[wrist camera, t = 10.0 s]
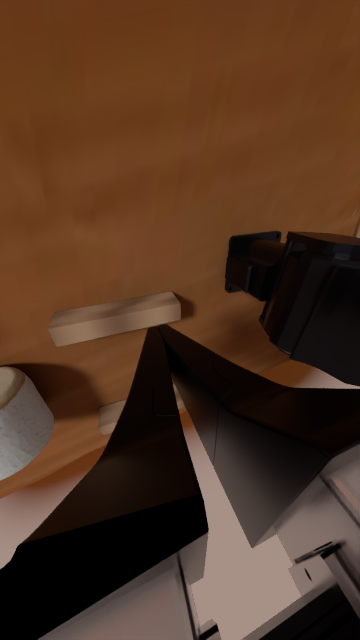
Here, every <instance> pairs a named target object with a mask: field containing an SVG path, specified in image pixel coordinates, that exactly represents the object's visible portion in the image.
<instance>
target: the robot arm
mask: <svg viewBox="0 0 360 640" xmlns="http://www.w3.org/2000/svg"><path fill="white" fill-rule="evenodd" d="M276 235H277V237H276ZM286 238H287V241H286V244H284V243H280V239H281V232H279V231H271V232H262V233H254V234H245V235H236V236H232V237H231V238H230V241H229V251H228V257H227V264H226V274H225V279H226V282H225V291H227V292H228V293H230V292H235V291H241V290H242V291H244V292H245V293H249V294H250V295H252V296H253V297H255V298H257V299H258V300H260V301H266V303H265V306H264V309H263V312H262V315H260V318H259V321H260V323H261V325H262V326H263V328H264V330H265V331H266V333H267V334H268V336H269V337H270V338H269V340H270V342H271V343H272V344H274V345H275V346H276V347H277V348H278V349H279V350H280V351H282V352H284V353H286V354H288V355H290V356H289V358H290V359H292V360H295V361H299V362H303V363H306V364H309V365H311V366H313V367H316V368H318V369H320V370H322V371H324V372H326V373H328V374H329V375H331V376H333V377H335V378H336V379H338V380H340V381H342V382H344V383H346V384H351V385H355V386H360V238H357V237H352V236H345V235H337V234H330V233H313V232H292V231H288V234H287V237H286ZM234 239H235V240H236V241H235V242H234V243H233V241H234ZM229 287H230V289H229ZM172 380H173V382H174V384H175V386H176V388H177V390H178V392H179V395H180V397H181V399H182V401H183V403H184V405H185V407H186V409H187V412H188V414H189V416H190V418H191V420H192V422H193V424H194V426H195V429H196V431H197V433H198V435H199V437H200V439H201V441H202V443H203V446H204V448H205V450H206V452H207V454H208V456H209V458H210V461H211V463H212V465H213V466H214V469H215V471H216V473H217V475H218V478H219V480H220V482H221V484H222V486H223V488H224V490H225V493H226V495H227V497H228V499H229V501H230V503H231V505H232V508H233V510H234V512H235V514H236V516H237V518H238V520H239V522H240V525H241V526H242V529H243V530H244V533H245V535H246V537H247V539H248V541H249V544H250V545H251V547H252V548H254V547H255V546H257V545H259V544H260V543H262V542H264V541H266V540H267V539H269V538H270V537H272V536H274V535H276V534H277V535H278V537H279V539H280V541H281V543H282V545H283V547H284V549H285V551H286V553H287V555H288V557H289V558H290V560H291V562H292V564H293V566H292V567H290V568H289V571H290V574H291V576H292V578H293V580H294V582H295V584H296V586H297V588H298V590H299V592H300V594H301V596H302V597H301V598H299V599H298V600H296V601H295V602H294V603H292V604H291V605H289V606H288V607H287V608H285V609H284V610H282V611H281V612H280V613H278V614H277V615H275V616H274V617H273V618H271V619H270V620H268V621H267V622H266V623H264V624H263V625H261V626H260V627H259V628H257V629H256V630H254V631H253V632H252V633H250V634H249V635H247V636H246V637H244V638H243V639H242V640H360V389H329V388H327V389H326V388H293V387H287V386H283V385H280V384H278V383H275V382H273V381H271V380H268V379H266V378H264V377H262V376H260V375H258V374H255V373H253V372H251V371H249V370H247V369H244V368H242V367H240V366H238V365H236V364H234V363H232V362H230V361H229V360H227V359H225V358H223V357H221V356H220V355H218V354H215V353H214V352H213V351H211V350H209V349H207V348H206V347H204V346H202V345H201V344H199V343H197V342H195V341H194V340H192V339H190V338H189V337H187V336H185V335H183V334H182V333H180V332H178V331H177V330H175V329H173V328H171V327H170V326H168V325H166V324H162V325H158V326H157V327H156V326H154V327H150V328H148V330H147V333H146V337H145V340H144V344H143V347H142V351H141V355H140V358H139V362H138V365H137V369H136V372H135V376H134V379H133V382H132V386H131V389H130V392H129V395H128V398H127V400H126V402H125V405H124V407H123V410H122V412H121V414H120V416H119V419H118V421H117V423H116V425H115V428H114V430H113V432H112V434H111V437H110V439H109V441H108V443H107V445H106V448H105V450H104V452H103V453H102V455H101V457H100V458H99V460H98V461H97V463H96V464H95V465H94V466H93V468H92V469H91V470H90V471H89V472H88V473H87V474H86V475H85V476H84V478H83V479H82V480H81V481H80V482H79V483H78V484H77V485H76V486H75V488H74V489H73V490H72V491H71V492H70V493H69V494H68V495H67V496H66V497H65V498H64V499H63V501H62V502H61V503H60V504H59V505H58V506H57V507H56V508H55V509H54V510H53V512H52V513H51V514H50V515H49V516H48V517H47V518H46V519H45V520H44V522H43V523H42V524H41V525H40V526H39V527H38V528H37V529H36V530H35V531H34V532H33V533H32V534H31V535H30V536H29V537H28V538H27V539H25V540H24V541H23V542H22V543H21V544H19V545H18V546H17V548H16V551H15V553H14V555H13V557H12V559H11V560H10V562H8V563H7V564H6V565H5V566H4V567H3V568H2V569H0V640H221V637H220V634H219V630H218V626H217V623H216V622H214V621H213V620H212V619H211V620H209V621H208V622H206V623H205V624H204V625H202V626H200V624H199V620H198V615H197V611H196V607H195V602H194V598H193V594H192V589H191V584H193V583H195V582H196V581H198V580H200V579H201V578H203V574H204V566H205V557H206V548H207V539H208V529H209V528H208V522H207V517H206V511H205V505H204V500H203V497H202V494H201V490H200V487H199V483H198V480H197V477H196V473H195V470H194V467H193V463H192V460H191V457H190V453H189V450H188V447H187V443H186V440H185V437H184V433H183V429H182V424H181V420H180V415H179V410H178V406H177V401H176V396H175V391H174V386H173V382H172Z"/></svg>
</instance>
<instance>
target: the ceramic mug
mask: <svg viewBox="0 0 360 640" xmlns="http://www.w3.org/2000/svg"><path fill="white" fill-rule="evenodd" d="M53 429H54V416H53V414H52V412H51V411H50V409H49V408H48V406H47V405H46V403H45V402H44V400H43V398H42V397H41V395H40V394H39V392H38V391H37V389H36V388H35V386H34V384H33V383H32V381H31V379H30V378H29V377H28V376H27V375H26V374H25V373H24V372H22V371H21V370H19V369H17V368H13V367H0V480H3V479H5V478H7V477H9V476H11V475H13V474H15V473H16V472H18V471H20V470H21V469H23V468H24V467H25V466H27V465H28V464H29V463H30V462H31V461H32V460H33V459H34V458H35V457H36V456H37V455H38V454H39V453H40V452H41V451H42V450H43V448H44V447H45V446H46V444H47V443H48V441H49V439H50V437H51V435H52V432H53Z"/></svg>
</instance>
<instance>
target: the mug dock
mask: <svg viewBox="0 0 360 640" xmlns="http://www.w3.org/2000/svg"><path fill="white" fill-rule="evenodd" d="M177 320H181V306H180V302H179V301H178V299H177V298H176V297H175V295H174V294H173V292H166V293H161V294H155V295H150V296H144V297H138V298H133V299H127V300H122V301H116V302H111V303H105V304H99V305H94V306H88V307H83V308H77V309H72V310H66V311H60V312H55V313H54V315H53V318H52V320H51V322H50V325H49V327H48V331H49V333H50V335H51V337H52V339H53V341H54V343H55V344H56V346H57V347H59V346H64V345H68V344H73V343H77V342H82V341H86V340H91V339H96V338H100V337H105V336H109V335H114V334H118V333H123V332H127V331H132V330H136V329H141V328H145V327H150V326H155V325H159V324H164V323H168V322H173V321H177ZM173 386H174V391H175V396H176V401H177V406H178V409H181V408H184V407H185V405H184V403H183V401H182V399H181V397H180V395H179V392H178V390H177V388H176V386H175V385H173ZM126 400H127V399H126ZM126 400H123V401H119V402H116V403H113V404H110V405H106V406H103V407H100V408H99V429H100V431H101V433H102V435H105V434H108V433H111V432H113V430H114V428H115V425H116V423H117V421H118V419H119V416H120V414H121V412H122V410H123V407H124V405H125V402H126Z"/></svg>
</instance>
